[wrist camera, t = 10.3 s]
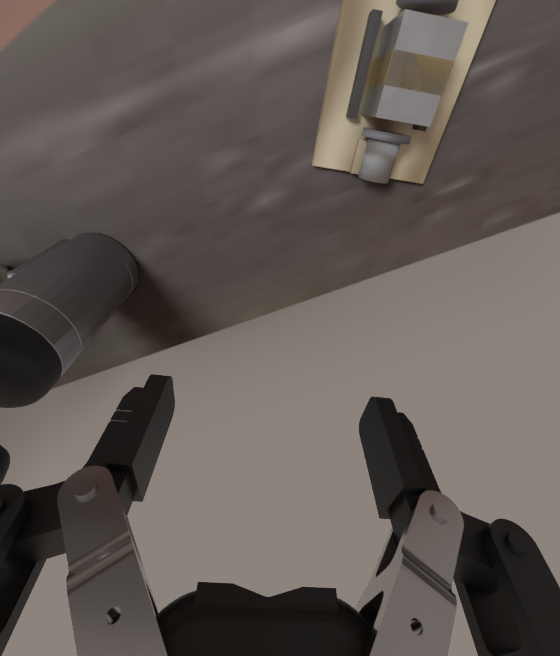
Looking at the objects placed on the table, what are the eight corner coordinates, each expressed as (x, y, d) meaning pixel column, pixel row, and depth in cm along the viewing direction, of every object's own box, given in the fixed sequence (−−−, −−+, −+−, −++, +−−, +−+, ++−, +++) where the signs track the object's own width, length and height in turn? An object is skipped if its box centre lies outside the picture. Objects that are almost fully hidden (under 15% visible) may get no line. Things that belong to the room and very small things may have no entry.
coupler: (382, 26, 25) (404, 9, 20) (435, 37, 25) (469, 22, 20) (360, 114, 29) (374, 116, 24) (407, 122, 29) (430, 127, 24)
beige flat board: (311, 163, 32) (315, 173, 28) (355, -74, 23) (371, -118, 18) (419, 181, 33) (439, 194, 28) (505, -41, 23) (557, -75, 19)
